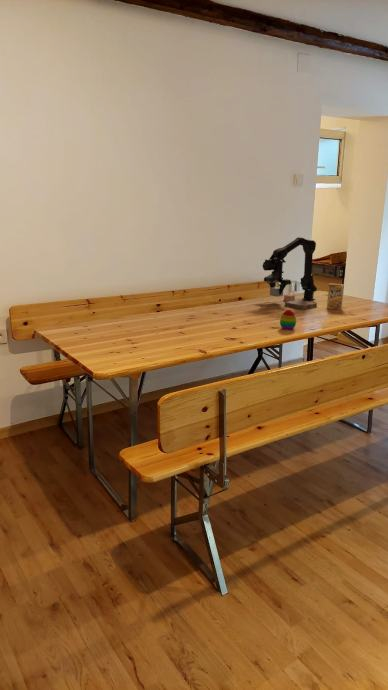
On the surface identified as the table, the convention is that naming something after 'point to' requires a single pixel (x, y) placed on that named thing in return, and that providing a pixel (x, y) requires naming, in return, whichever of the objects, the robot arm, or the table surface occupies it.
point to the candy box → (335, 296)
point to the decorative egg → (288, 320)
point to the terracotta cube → (289, 297)
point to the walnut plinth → (300, 304)
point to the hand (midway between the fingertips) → (276, 293)
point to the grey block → (275, 291)
